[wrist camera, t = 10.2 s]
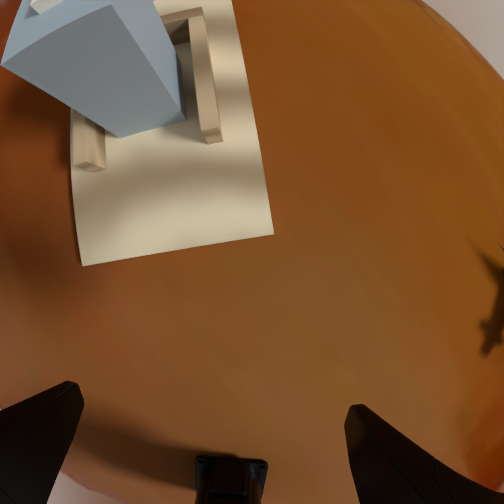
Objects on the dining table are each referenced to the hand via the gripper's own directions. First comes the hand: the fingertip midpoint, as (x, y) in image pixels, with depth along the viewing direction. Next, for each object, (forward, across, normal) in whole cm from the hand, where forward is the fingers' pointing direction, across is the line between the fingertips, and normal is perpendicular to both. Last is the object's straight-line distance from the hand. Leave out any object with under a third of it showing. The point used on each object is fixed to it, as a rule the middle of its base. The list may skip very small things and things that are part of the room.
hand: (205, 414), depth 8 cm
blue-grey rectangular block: (+14, +6, -13) cm, 20 cm away
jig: (+14, +6, -13) cm, 20 cm away
